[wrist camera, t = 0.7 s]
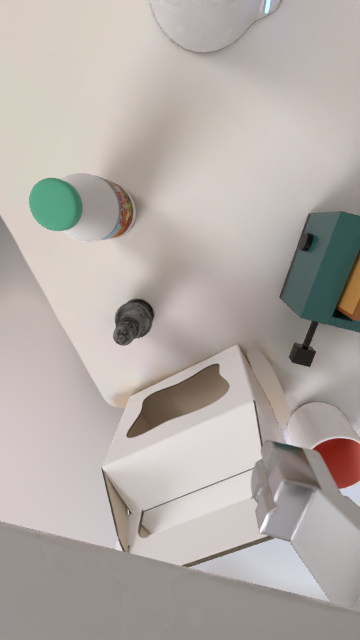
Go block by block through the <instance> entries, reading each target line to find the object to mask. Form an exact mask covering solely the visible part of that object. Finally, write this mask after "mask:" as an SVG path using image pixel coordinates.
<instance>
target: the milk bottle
mask: <svg viewBox="0 0 360 640" xmlns="http://www.w3.org/2000/svg"><path fill="white" fill-rule="evenodd" d="M29 205H30V209H31V212H32V215H33V216H34V218H35V219H36V221H37V222H38V223H39V224H41V225H42V226H43V227H45V228H47V229H49V230H53V231H63V232H64V233H65V234H66V235H68V236H70V237H72V238H74V239H77V240H80V241H86V242H91V241H101V240H107V239H112V238H117V237H120V236H122V235H124V234H126V233H127V232H128V231H129V230H130V229H131V228H132V226H133V224H134V222H135V218H136V207H135V203H134V200H133V198H132V197H131V195H130V194H129V193H128V192H127V191H126V190H125V189H124V188H122V187H121V186H119V185H117V184H115V183H112V182H110V181H108V180H105V179H103V178H100V177H98V176H94V175H91V174H85V173H78V174H72V175H69V176H67V177H65V178H63V179H62V180H61V179H56V178H47V179H43V180H41V181H39V182H38V183H37V184H36V185H35V186H34V187H33V189H32V191H31V193H30V198H29Z"/></svg>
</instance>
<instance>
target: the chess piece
mask: <svg viewBox="0 0 360 640" xmlns="http://www.w3.org/2000/svg"><path fill="white" fill-rule="evenodd" d="M153 316H154V315H153V310H152V307H151V306H150V305H149V304H148V303H147V302H146V301H144V300H141V299H133V300H130V301H129V302H127V303H126V304H124V305H122V306H121V307H120V308H119V309H118V310H117V312H116V315H115V324H116V329H115V330H114V333H113V338H114V340H115V342H116V343H117V344H119V345H128V344H130V343H131V342H132V341H133V339H135V338H140V337H143V336H144V335H146V334H147V333H148V332H149V331H150V329H151V326H152V320H153Z"/></svg>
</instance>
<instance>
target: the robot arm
mask: <svg viewBox="0 0 360 640" xmlns="http://www.w3.org/2000/svg"><path fill="white" fill-rule="evenodd" d="M149 1H150V4H151V7H152V10H153V13H154V16H155V18H156V20H157V22H158V24H159V25H160V27H161V29H162V30H163V31H164V33H165V34H166V35H167V36H168V37H169V38H170V39H171V40H172V41H173V42H175V43H176V44H178V45H179V46H181V47H183V48H185V49H187V50H191V51H195V52H213V51H217V50H220V49H222V48H225V47H227V46H229V45H230V44H232V43H233V42H235V41H236V40H237V39H238V38H240V37H241V36H242V35H243V34H244V32H245V31H246V30H247V29H248V28H249V27H250V26H251V25H252V24H253V23H254V22H255V21H256V20H258V19H260V18H262V17H265V16H267V15H269V14H270V13H272V12H274V11H275V10H276V9H277V8H278V7H279V5H280V2H281V0H149ZM260 451H261V455H262V459H260V460H259V461H257V462H256V463H255V466H254V468H253V471H252V477H251V492H252V497H253V498H254V499H255V501H256V502H257V503H258V505H257V507H256V510H255V513H256V518H257V523H258V528H259V533H260V534H264V535H267V536H271V537H274V538H278V539H282V540H285V541H289V542H291V545H292V546H293V548H294V550H295V551H296V552H297V554H298V555H299V557H300V558H301V560H302V561H303V563H304V564H305V566H306V567H307V568H308V570H309V571H310V573H311V574H312V576H313V577H314V579H315V580H316V582H317V583H318V584H319V586H320V587H321V589H322V590H323V592H324V593H325V595H326V596H327V598H328V599H329V600H330V602H328V601H324V600H320V599H315V598H311V597H307V596H303V595H298V594H295V593H291V592H286V591H282V590H278V589H274V588H270V587H266V586H261V585H257V584H253V583H249V582H245V581H241V580H237V579H233V578H229V577H225V576H221V575H217V574H213V573H209V572H205V571H200V570H196V569H192V568H188V567H184V566H180V565H176V564H172V563H168V562H164V561H160V560H156V559H152V558H148V557H144V556H140V555H136V554H132V553H128V552H124V551H119V550H115V549H111V548H107V547H103V546H99V545H94V544H91V543H87V542H83V541H78V540H74V539H70V538H66V537H62V536H58V535H54V534H50V533H45V532H41V531H37V530H33V529H29V528H25V527H21V526H17V525H13V524H8V523H5V522H1V521H0V640H360V507H359V506H358V505H357V504H355V503H354V502H353V501H352V500H351V499H350V498H349V497H347V496H343V495H342V494H341V492H340V490H339V488H338V487H337V485H336V483H335V481H334V479H333V477H332V475H331V473H330V472H329V470H328V468H327V466H326V464H325V462H324V460H323V458H322V457H321V455H320V453H319V452H317V451H316V450H311V449H307V448H302V447H296V446H292V445H288V444H283V443H279V442H275V441H270V440H266V441H265V442H264V443H263V446H262V448H261V450H260Z"/></svg>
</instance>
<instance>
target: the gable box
mask: <svg viewBox="0 0 360 640" xmlns="http://www.w3.org/2000/svg"><path fill="white" fill-rule="evenodd" d="M266 440H270V441H275V442H279V443H283V444H286V442H285V440H284V437H283V435H282V432H281V429H280V427H279V424H278V422H277V419H276V416H275V414H274V411H273V409H272V406H271V404H270V402H269V400H268V398H267V396H266V395H265V393H264V391H263V389H262V387H261V385H260V384H259V382H258V380H257V378H256V376H255V375H254V373H253V371H252V369H251V367H250V365H249V364H248V362H247V360H246V358H245V356H244V355H243V353H242V351H241V349H240V347H239V345H234V346H232V347H230V348H228V349H226V350H224V351H222V352H220V353H218V354H216V355H214V356H212V357H210V358H208V359H206V360H204V361H202V362H200V363H197V364H195V365H193V366H191V367H189V368H187V369H185V370H183V371H181V372H179V373H177V374H175V375H173V376H171V377H169V378H167V379H165V380H163V381H160V382H158V383H156V384H154V385H152V386H150V387H148V388H146V389H144V390H142V391H140V392H138V393H136V394H134V395H132V396H130V398H129V401H128V403H127V406H126V408H125V411H124V413H123V416H122V418H121V421H120V424H119V426H118V428H117V431H116V433H115V436H114V438H113V441H112V443H111V446H110V448H109V451H108V453H107V456H106V458H105V461H104V463H103V466H102V473H103V477H104V481H105V486H106V490H107V494H108V498H109V503H110V507H111V511H112V515H113V520H114V524H115V528H116V533H117V537H118V538H117V544H116V548H115V550H119V551H124V552H128V553H132V554H136V555H140V556H144V557H148V558H152V559H156V560H160V561H164V562H168V563H172V564H176V565H180V566H184V567H191V566H194V565H197V564H200V563H203V562H206V561H209V560H212V559H215V558H218V557H221V556H223V555H226V554H229V553H233V552H236V551H239V550H241V549H244V548H247V547H250V546H253V545H256V544H259V543H262V542H265V541H268V540H271V539H274V537H271V536H267V535H264V534H260V533H259V528H258V523H257V518H256V513H255V510H256V507H257V505H258V503H257V502H256V501H255V499H254V498H253V497H252V492H251V477H252V471H253V468H254V466H255V463H256V462H257V461H259V460H260V459H262V455H261V451H260V450H261V448H262V446H263V443H264V442H265V441H266ZM128 510H129V515H128V512H127V511H128Z"/></svg>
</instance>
